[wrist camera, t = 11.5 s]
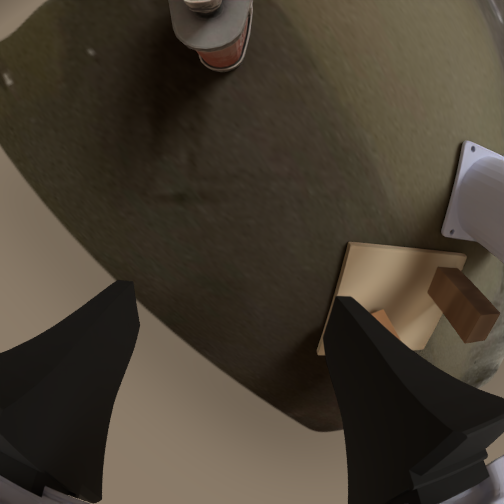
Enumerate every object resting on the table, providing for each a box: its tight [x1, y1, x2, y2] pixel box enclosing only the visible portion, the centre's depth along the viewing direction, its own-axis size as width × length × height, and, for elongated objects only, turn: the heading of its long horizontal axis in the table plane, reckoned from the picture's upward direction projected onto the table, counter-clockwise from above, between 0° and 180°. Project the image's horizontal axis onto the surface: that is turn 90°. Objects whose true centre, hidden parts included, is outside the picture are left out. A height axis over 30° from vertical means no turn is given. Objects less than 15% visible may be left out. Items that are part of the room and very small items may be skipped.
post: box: [427, 267, 500, 343], centre depth 19 cm, size 3×3×7 cm
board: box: [317, 242, 467, 355], centre depth 23 cm, size 12×11×1 cm
